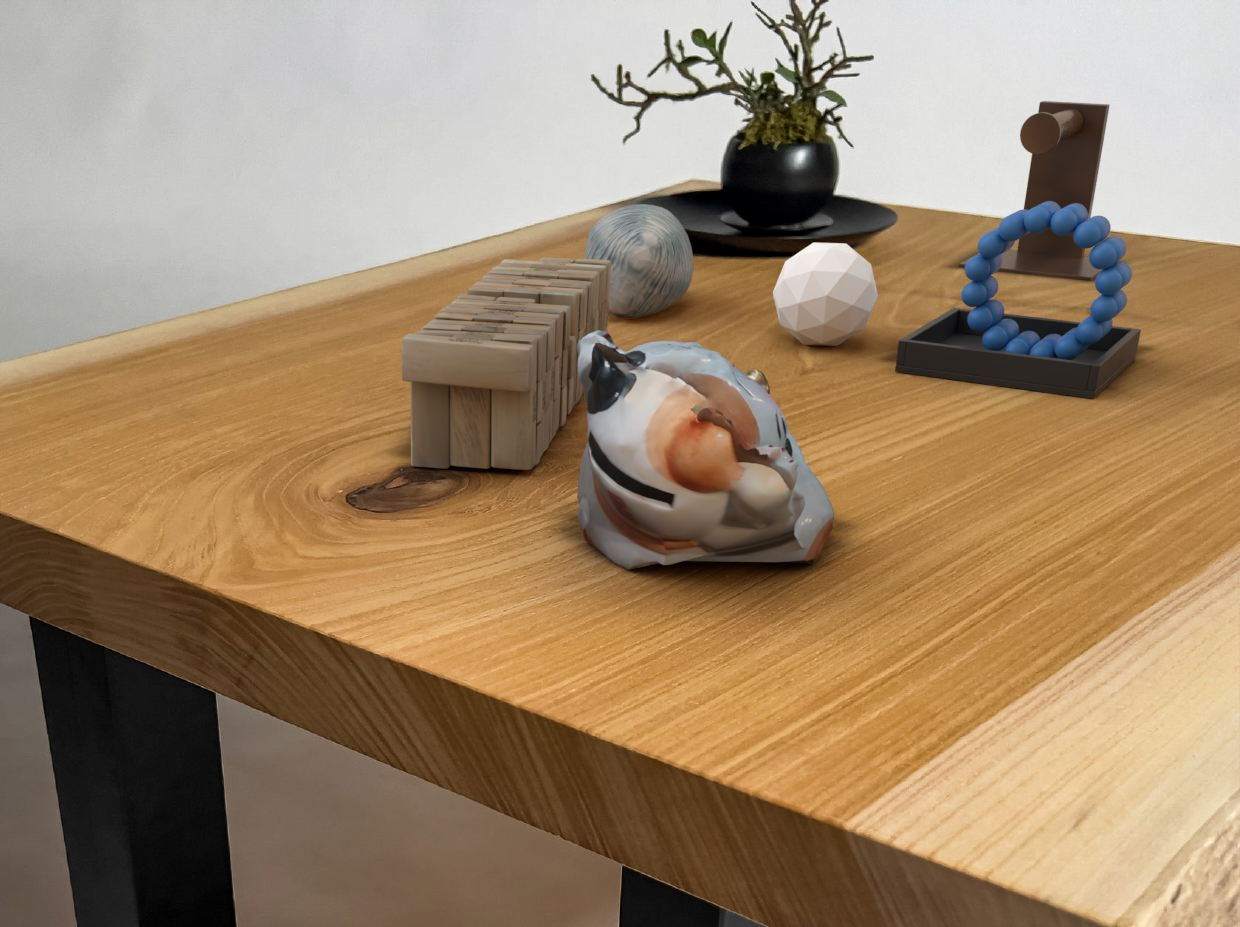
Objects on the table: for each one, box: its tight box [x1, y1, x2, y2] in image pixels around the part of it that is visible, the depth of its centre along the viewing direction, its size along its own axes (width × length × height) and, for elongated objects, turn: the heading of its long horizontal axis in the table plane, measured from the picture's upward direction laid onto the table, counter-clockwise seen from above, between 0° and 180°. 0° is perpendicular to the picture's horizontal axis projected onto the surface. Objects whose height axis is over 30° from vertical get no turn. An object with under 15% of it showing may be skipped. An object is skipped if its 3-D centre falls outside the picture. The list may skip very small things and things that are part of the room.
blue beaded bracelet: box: [960, 201, 1133, 360], centre depth 115 cm, size 11×5×11 cm, turn 58°
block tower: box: [400, 256, 611, 471], centre depth 105 cm, size 8×8×29 cm
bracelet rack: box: [957, 100, 1110, 282], centre depth 146 cm, size 12×12×15 cm
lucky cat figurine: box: [576, 330, 835, 570], centre depth 80 cm, size 15×12×14 cm
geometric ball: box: [772, 242, 879, 347], centre depth 123 cm, size 8×8×8 cm
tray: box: [894, 307, 1142, 400], centre depth 118 cm, size 14×13×2 cm
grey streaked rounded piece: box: [584, 203, 694, 320], centre depth 135 cm, size 14×10×10 cm
